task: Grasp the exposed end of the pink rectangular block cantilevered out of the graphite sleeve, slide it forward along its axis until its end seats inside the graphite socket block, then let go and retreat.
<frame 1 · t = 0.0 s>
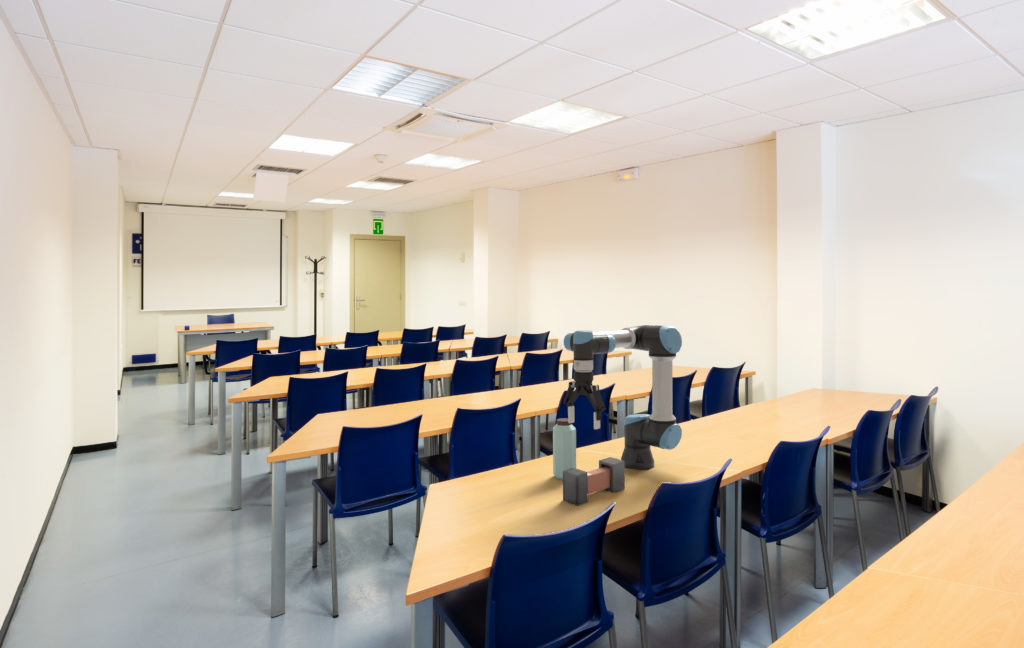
hand: (583, 425, 211), 28 cm above the table, fingers open, 13 cm apart
pink rectangular block: (599, 478, 216), point 6 cm above the table, slide at 0.0 cm
water bottle: (564, 477, 236), on the table
sleeve: (611, 488, 221), on the table
socket: (575, 501, 208), on the table
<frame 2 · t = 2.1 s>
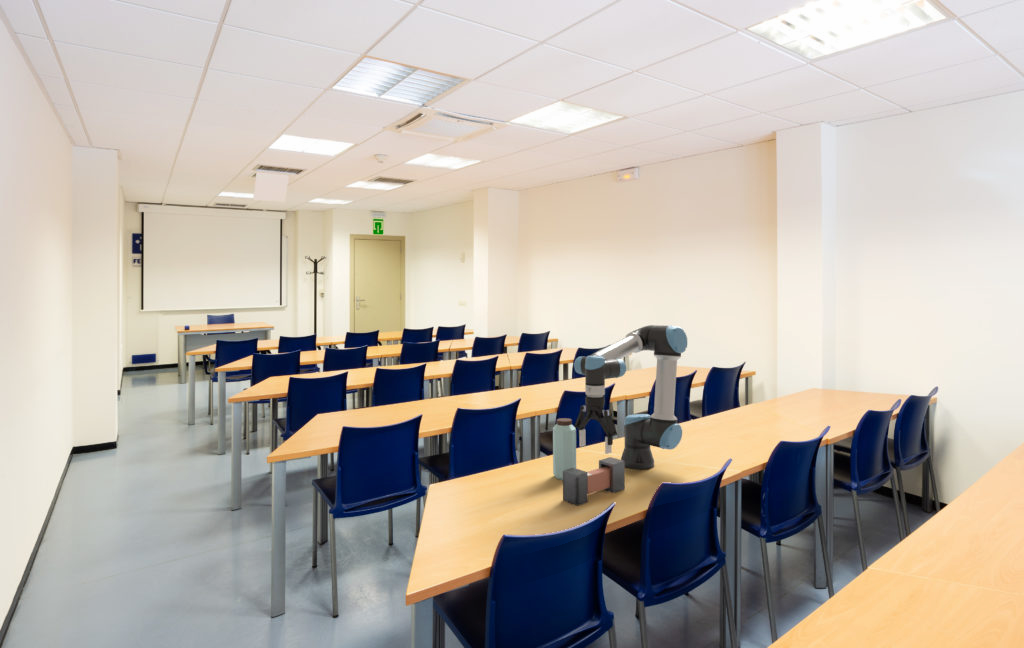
hand: (595, 449, 214), 18 cm above the table, fingers open, 13 cm apart
nothing on the table moved.
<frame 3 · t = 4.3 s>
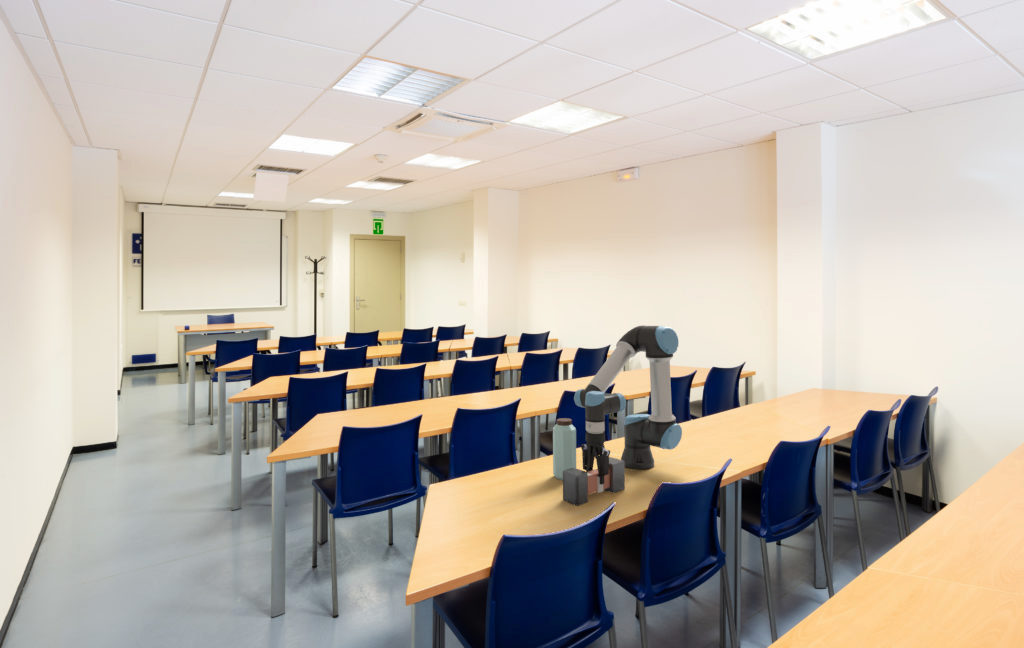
hand: (595, 490, 215), 2 cm above the table, fingers closed on pink rectangular block, 4 cm apart
pink rectangular block: (599, 478, 216), point 6 cm above the table, slide at 0.0 cm, touching gripper
everything else where it was.
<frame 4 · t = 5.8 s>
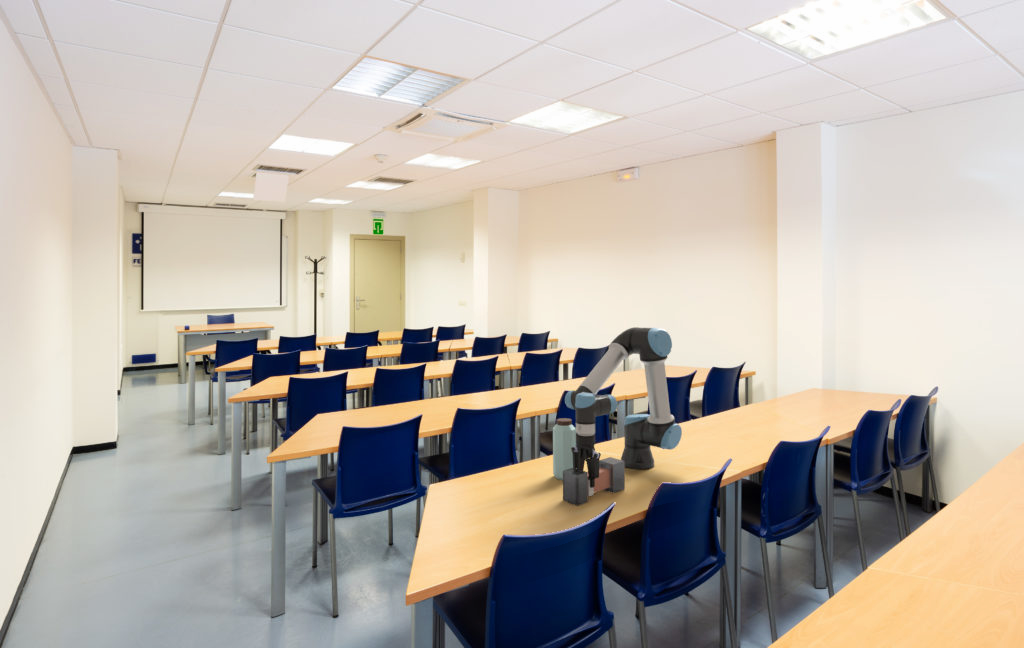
hand: (586, 493, 211), 2 cm above the table, fingers closed on pink rectangular block, 4 cm apart
pink rectangular block: (590, 481, 213), point 6 cm above the table, slide at 5.4 cm, touching gripper
everything else where it was.
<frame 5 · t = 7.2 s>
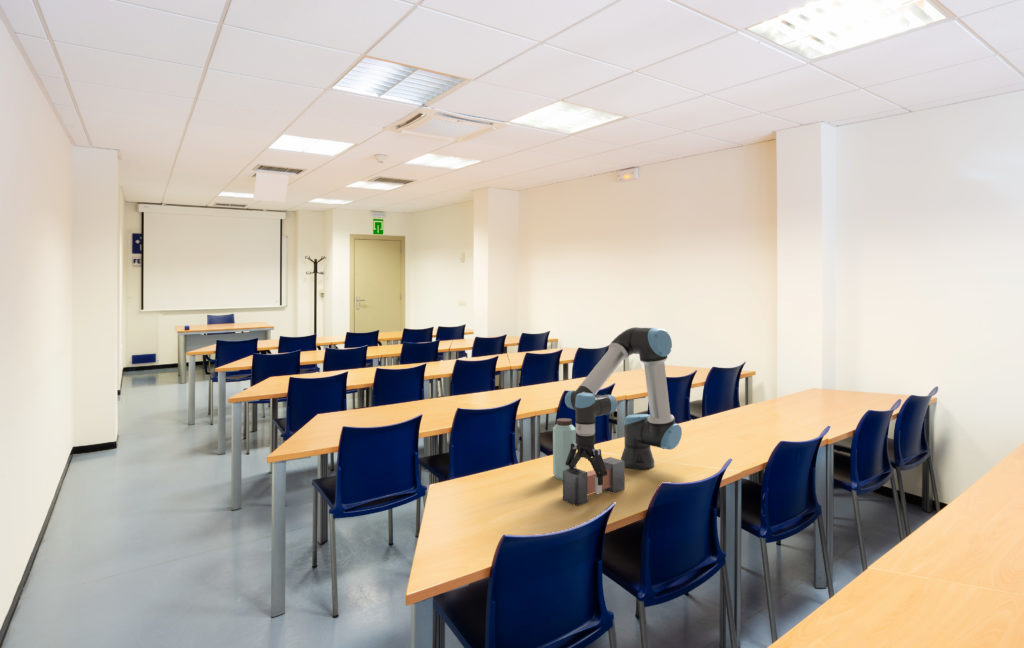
hand: (585, 488, 211), 4 cm above the table, fingers open, 12 cm apart
pink rectangular block: (590, 481, 213), point 6 cm above the table, slide at 5.5 cm
everything else where it was.
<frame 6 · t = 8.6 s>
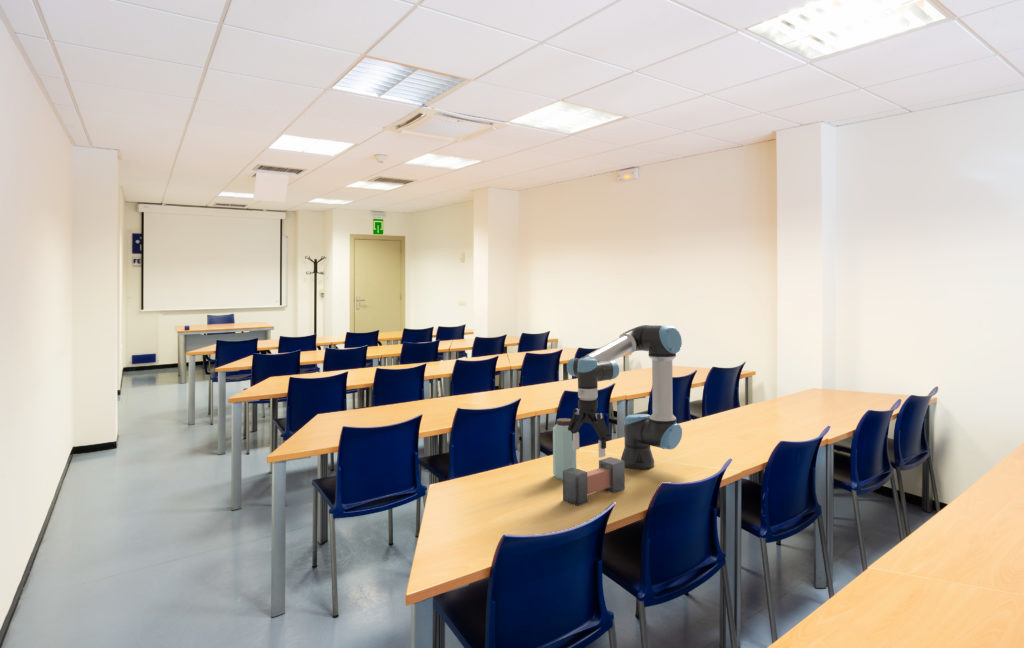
hand: (588, 453, 211), 17 cm above the table, fingers open, 13 cm apart
nothing on the table moved.
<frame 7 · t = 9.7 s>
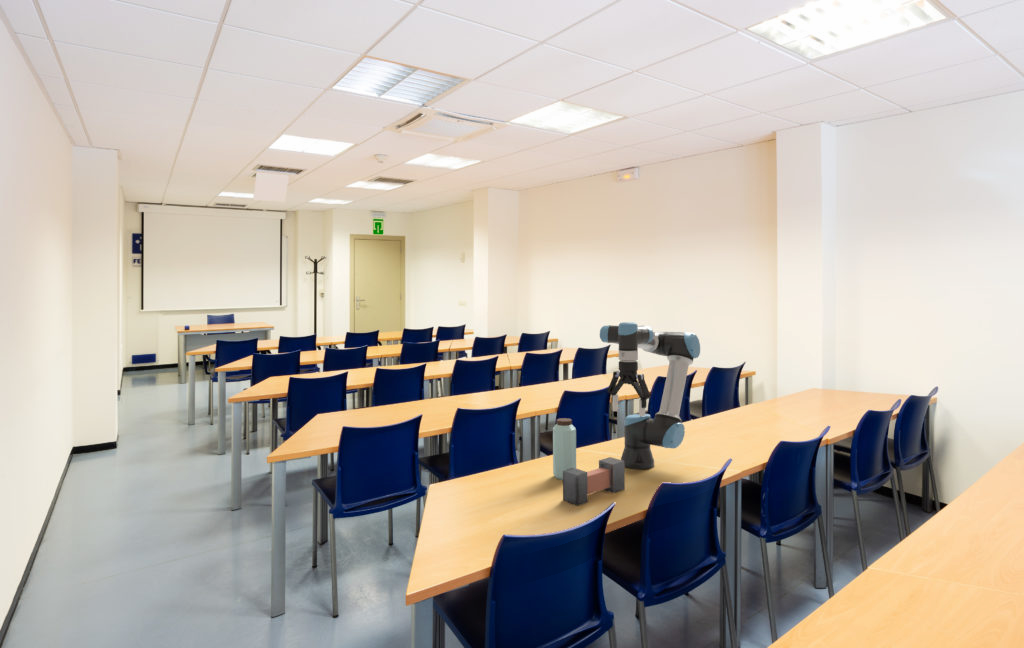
hand: (628, 413, 220), 31 cm above the table, fingers open, 13 cm apart
nothing on the table moved.
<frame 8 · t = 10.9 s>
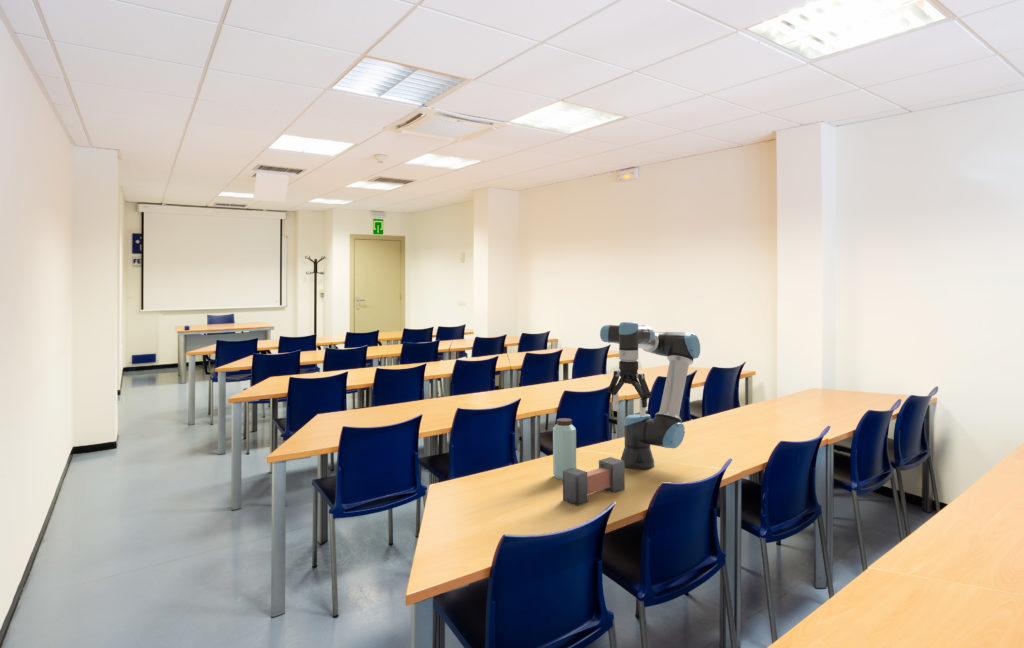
hand: (628, 412, 220), 31 cm above the table, fingers open, 13 cm apart
nothing on the table moved.
at the end: pink rectangular block slide at 5.5 cm; the gripper is holding nothing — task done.
